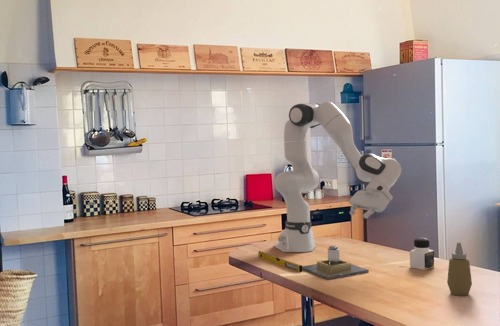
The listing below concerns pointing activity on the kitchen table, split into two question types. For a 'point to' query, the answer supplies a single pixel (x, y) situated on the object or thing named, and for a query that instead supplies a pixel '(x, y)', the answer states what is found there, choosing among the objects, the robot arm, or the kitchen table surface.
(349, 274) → the collar plate
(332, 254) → the domed metal canister
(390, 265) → the kitchen table surface
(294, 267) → the spirit level
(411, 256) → the medicine bottle
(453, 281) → the squeeze bottle
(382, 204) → the robot arm
